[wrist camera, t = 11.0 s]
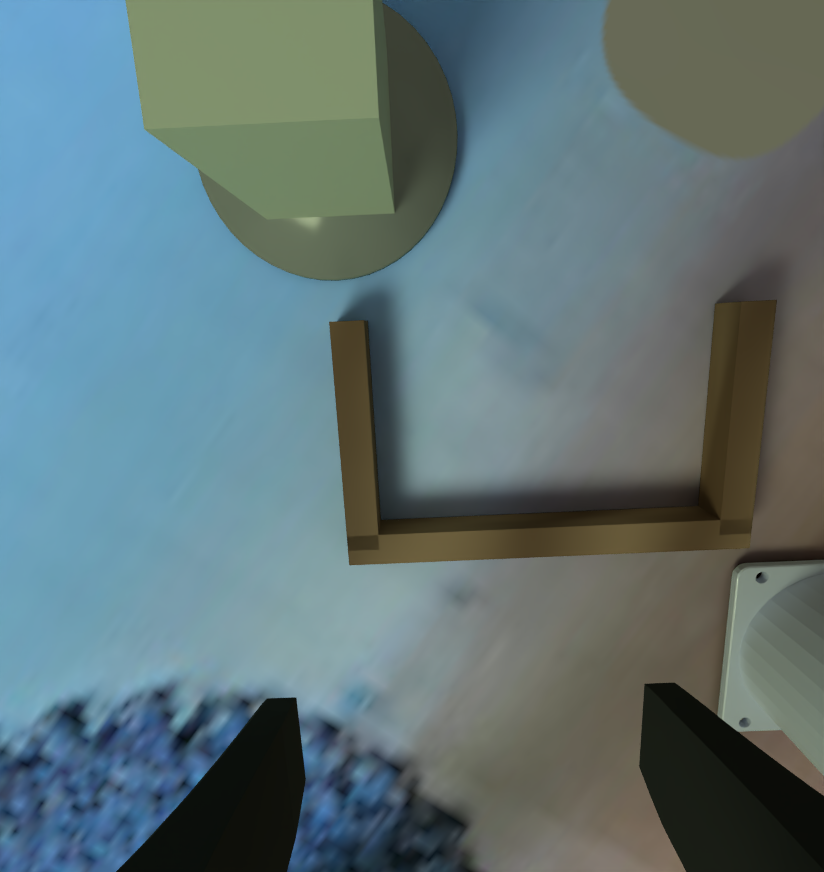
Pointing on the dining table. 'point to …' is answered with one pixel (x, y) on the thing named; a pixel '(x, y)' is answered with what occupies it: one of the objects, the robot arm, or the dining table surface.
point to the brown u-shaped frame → (579, 530)
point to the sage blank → (272, 99)
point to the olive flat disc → (412, 179)
